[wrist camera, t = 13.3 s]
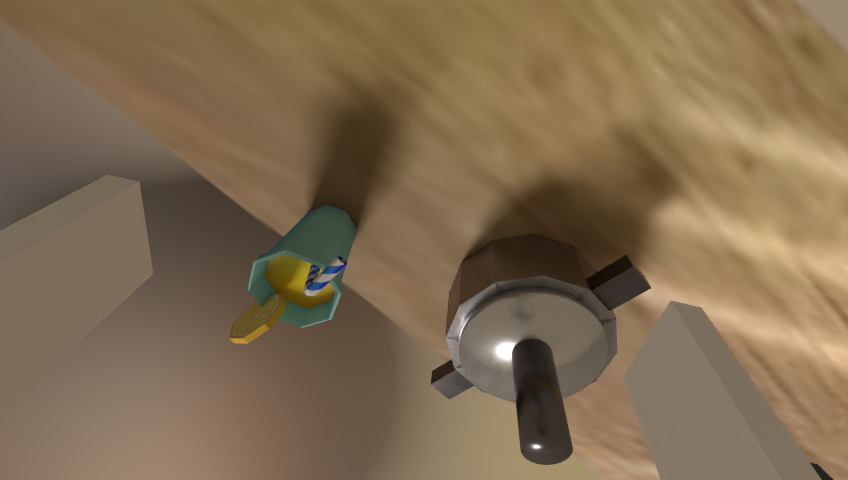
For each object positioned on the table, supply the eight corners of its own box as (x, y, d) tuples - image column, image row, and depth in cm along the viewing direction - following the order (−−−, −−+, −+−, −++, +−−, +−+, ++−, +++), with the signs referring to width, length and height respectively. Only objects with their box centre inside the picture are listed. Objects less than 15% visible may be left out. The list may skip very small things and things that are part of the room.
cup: (350, 148, 40) (290, 228, 27) (411, 205, 42) (384, 303, 29) (266, 238, 46) (185, 339, 33) (324, 283, 48) (269, 395, 35)
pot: (485, 383, 53) (486, 434, 47) (398, 307, 48) (387, 353, 42) (660, 287, 44) (690, 335, 38) (573, 182, 39) (591, 218, 33)
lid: (479, 272, 37) (481, 367, 28) (629, 306, 37) (679, 410, 28) (445, 377, 43) (437, 480, 34) (572, 405, 44) (598, 515, 35)
